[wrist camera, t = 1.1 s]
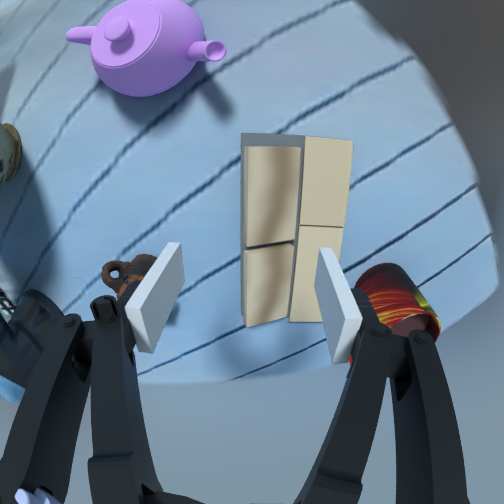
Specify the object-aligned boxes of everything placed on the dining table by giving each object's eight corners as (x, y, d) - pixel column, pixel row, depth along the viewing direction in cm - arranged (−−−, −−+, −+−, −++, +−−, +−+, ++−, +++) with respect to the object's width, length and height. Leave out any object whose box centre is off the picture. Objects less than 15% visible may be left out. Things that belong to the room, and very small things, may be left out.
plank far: (243, 322, 39) (246, 327, 38) (243, 250, 34) (247, 254, 33) (283, 312, 41) (286, 316, 40) (289, 243, 36) (294, 246, 35)
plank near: (243, 242, 33) (247, 246, 32) (244, 146, 28) (248, 147, 27) (289, 235, 35) (294, 239, 34) (295, 146, 30) (300, 147, 29)
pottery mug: (190, 269, 40) (177, 321, 36) (167, 286, 47) (155, 329, 43) (117, 233, 35) (95, 286, 30) (106, 257, 42) (88, 301, 37)
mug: (339, 332, 44) (354, 387, 33) (361, 260, 38) (391, 311, 27) (387, 332, 44) (409, 382, 33) (415, 265, 38) (452, 311, 27)
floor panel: (241, 310, 43) (240, 319, 41) (241, 133, 31) (240, 133, 29) (324, 312, 42) (326, 321, 40) (347, 140, 31) (353, 141, 29)
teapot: (214, 116, 30) (191, 114, 21) (85, 88, 28) (35, 86, 18) (254, 21, 24) (249, -16, 15) (118, 3, 22) (78, -20, 12)
